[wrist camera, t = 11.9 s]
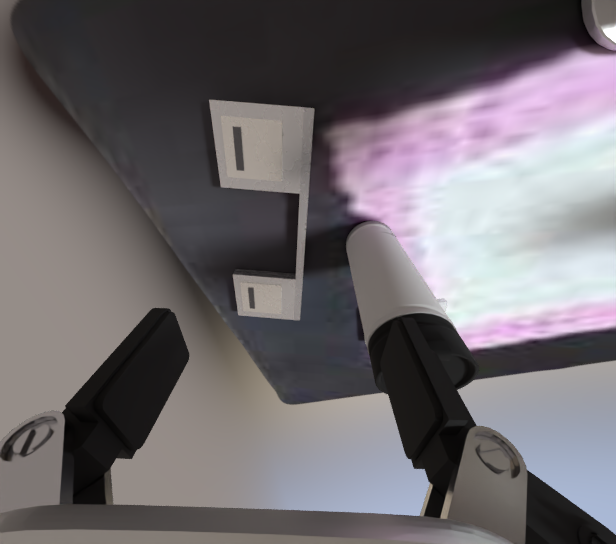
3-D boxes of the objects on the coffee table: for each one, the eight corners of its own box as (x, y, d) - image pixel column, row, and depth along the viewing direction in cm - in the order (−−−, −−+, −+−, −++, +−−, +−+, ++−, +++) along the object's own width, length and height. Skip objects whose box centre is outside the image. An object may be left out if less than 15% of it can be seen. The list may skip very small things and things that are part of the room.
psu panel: (215, 100, 23) (207, 99, 21) (314, 108, 23) (314, 108, 21) (240, 308, 38) (237, 316, 37) (300, 313, 38) (299, 321, 37)
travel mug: (393, 213, 28) (500, 346, 12) (392, 259, 32) (473, 411, 15) (343, 221, 29) (374, 356, 12) (347, 265, 33) (377, 415, 16)
